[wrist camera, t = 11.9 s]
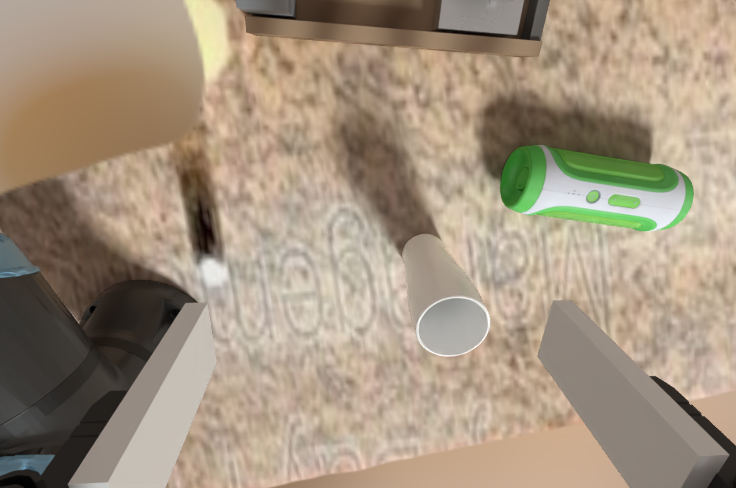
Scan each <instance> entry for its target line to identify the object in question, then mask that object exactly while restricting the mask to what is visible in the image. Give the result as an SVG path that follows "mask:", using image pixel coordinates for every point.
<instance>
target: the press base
mask: <svg viewBox="0 0 736 488" xmlns="http://www.w3.org/2000/svg"><path fill="white" fill-rule="evenodd" d="M549 1H550V0H524V3H523V8H522V13H521V18H520V22H519V27H518V32H517V35H514V36H508V37H503V36H492V35H480V34H468V33H457V32H445V31H433V26H434V18H435V10H436V2H437V0H236V4H237V8H239V9H240V10H242V11H244V12H246V13H248V14H250V15H252V17H251V16H245V21H246V32H247V33H250V34H253V35H256V36H269V37H281V38H293V39H305V40H317V41H330V42H342V43H354V44H366V45H379V46H391V47H403V48H415V49H427V50H440V51H452V52H464V53H476V54H488V55H501V56H513V57H534V56H539V53H540V49H541V45H542V41H540V40H541V36H542V32H543V27H544V23H545V19H546V14H547V10H548V6H549Z"/></svg>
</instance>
